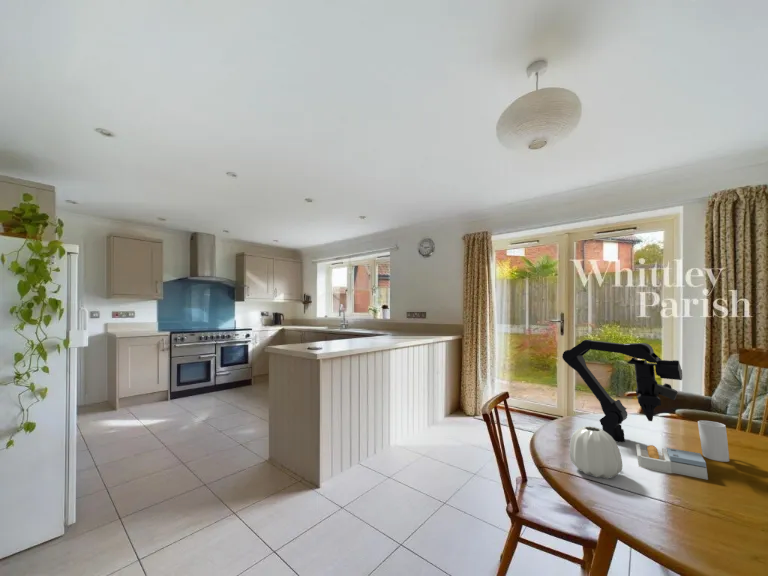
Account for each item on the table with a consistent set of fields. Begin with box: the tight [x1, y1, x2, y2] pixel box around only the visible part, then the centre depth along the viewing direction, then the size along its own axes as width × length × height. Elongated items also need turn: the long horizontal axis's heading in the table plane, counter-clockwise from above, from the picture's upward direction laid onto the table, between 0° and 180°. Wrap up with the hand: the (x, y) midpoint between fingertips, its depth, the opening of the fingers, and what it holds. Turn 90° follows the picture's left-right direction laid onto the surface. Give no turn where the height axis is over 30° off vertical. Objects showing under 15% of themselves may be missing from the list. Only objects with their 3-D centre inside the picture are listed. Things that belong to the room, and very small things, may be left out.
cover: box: [666, 447, 707, 468], centre depth 98 cm, size 8×8×2 cm
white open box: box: [635, 443, 709, 480], centre depth 103 cm, size 16×18×4 cm
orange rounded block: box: [646, 444, 659, 459], centre depth 108 cm, size 3×8×3 cm, turn 143°
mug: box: [697, 420, 730, 463], centre depth 108 cm, size 10×7×12 cm, turn 127°
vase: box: [569, 425, 623, 479], centre depth 100 cm, size 14×14×13 cm
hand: (649, 419), depth 116 cm, fingers open, 5 cm apart
